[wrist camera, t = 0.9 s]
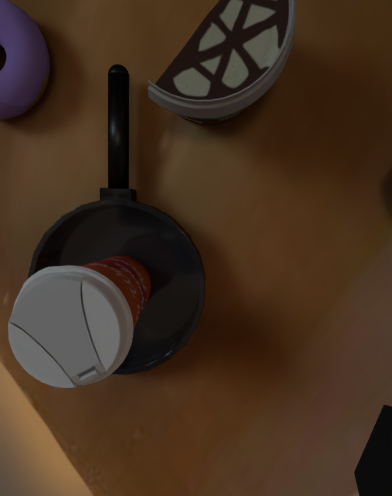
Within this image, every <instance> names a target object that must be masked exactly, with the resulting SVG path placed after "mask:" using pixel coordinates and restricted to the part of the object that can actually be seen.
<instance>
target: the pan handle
mask: <svg viewBox="0 0 392 496" xmlns="http://www.w3.org/2000/svg"><path fill="white" fill-rule="evenodd" d="M104 200H115V201H127V202H128V201H130V202H131V201H134V202H136V190H134V189H129V73H128V71H127V69H126V68H125V67H124V66H122V65H119V64H116V65H113V66H112V67H111V68H110V69H109V71H108V188H100V201H104Z"/></svg>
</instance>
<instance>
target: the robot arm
mask: <svg viewBox="0 0 392 496" xmlns="http://www.w3.org/2000/svg"><path fill="white" fill-rule="evenodd" d="M354 473H355V478H356V482H357V487H358V491H359V496H392V407H391V406H387V405H384V406H383V408H382V410H381V413H380V415H379V417H378V420H377V422H376V424H375V426H374V429H373V431H372V433H371V435H370V438H369V440H368V442H367V445H366V447H365V449H364V451H363V454H362V456H361V458H360V460H359V463H358V465H357V467H356V470H355V472H354Z"/></svg>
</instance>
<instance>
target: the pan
mask: <svg viewBox="0 0 392 496" xmlns="http://www.w3.org/2000/svg"><path fill="white" fill-rule="evenodd" d="M116 256H127V257H131V258H134V259H136V260H138V261H139V262H140V263H142V264H143V265H144V267H145V268H146V269H147V271H148V273H149V275H150V279H151V291H150V295H149V298H148V300H147V302H146V305H145V307H144V309H143V311H142V313H141V315H140V318H139V320H138V322H137V324H136V326H135V328H134V330H133V339H132V344H131V347H130V349H129V352H128V354H127V356H126V358H125V359H124V361H123V362H122V364H121V365H120V366H119V367H118V368H117V369H116V370H115V371H114V372H113V373H112V374H123V375H126V374H127V375H128V374H132V373H137V372H142V371H146V370H150V369H152V368H154V367H156V366H158V365H160V364H162V363H164V362H166V361H167V360H169V359H170V358H171V357H172V356H173V355H175V354H176V353H177V352H178V351H179V350H180V349H181V348H182V347H183V346H185V344H186V343H187V341H188V340H189V338H190V337H191V335H192V333H193V332H194V330H195V329H196V327H197V325H198V322H199V319H200V316H201V312H202V309H203V306H204V298H205V272H204V268H203V263H202V260H201V256H200V253H199V251H198V249H197V247H196V245H195V243H194V242H193V240H192V238H191V237H190V235H189V234H188V233H187V232H186V231H185V229H184V228H183V227H182V226H181V225H180V224H179V223H178V222H177V221H176V220H175V219H174V218H172V217H171V216H169V215H167V214H166V213H164V212H163V211H161V210H159V209H158V208H156V207H153V206H150V205H147V204H143V203H140V202H134V201H131V202H130V201H128V202H127V201H115V200H104V201H96V202H92V203H88V204H84V205H81V206H79V207H77V208H75V209H73V210H72V211H70V212H68V213H66V214H65V215H63V216H61V217H60V218H59V219H58V220H57V221H56V222H55V223H54V224H53V225H52V226H51V227H50V228H49V229H48V230H47V231H46V232H45V233H44V235H43V237H42V239H41V241H40V243H39V244H38V246H37V248H36V250H35V252H34V254H33V258H32V262H31V266H30V271H29V275H28V277H29V278H30V277H31V276H32V275H34V274H35V273H37V272H38V271H40V270H42V269H44V268H47V267H54V266H66V265H71V266H80V265H84V264H87V263H91V262H95V261H99V260H102V259H106V258H111V257H116Z"/></svg>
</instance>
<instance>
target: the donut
mask: <svg viewBox="0 0 392 496" xmlns="http://www.w3.org/2000/svg"><path fill="white" fill-rule="evenodd" d="M0 46H3V48H4V49H5V51H6V57H7V58H6V63H5V66H4V67H3V69H2V70H1V71H0V119H10V118H13V117H16V116H19V115H21V114H23V113H25V112H27V111H28V110H29V109H31V108H32V107H33V106H34V105H35V104H36V103H37V102H38V101H39V99H40V98H41V96H42V95H43V93H44V91H45V88H46V86H47V83H48V79H49V72H50V63H49V53H48V49H47V43H46V41H45V39H44V37H43V35H42V33H41V31H40V29H39V27H38V25H37V24H36V22H35V21H34V20H33V19H32V18H31V17H30V16H29V15H28V14H27V13H26V12H25V11H23V10H22V9H21V8H19V7H18V6H17V5H15V4H14V3H12V2H10V1H7V0H0Z"/></svg>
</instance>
